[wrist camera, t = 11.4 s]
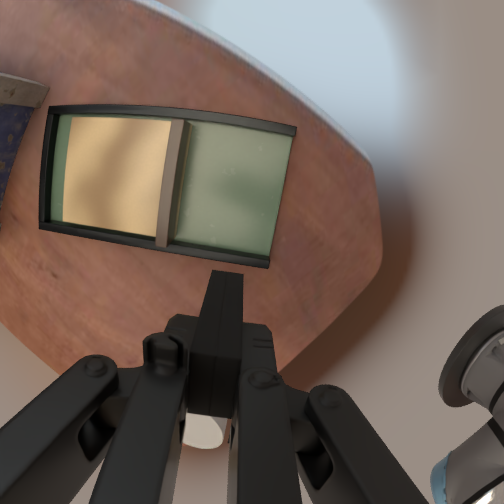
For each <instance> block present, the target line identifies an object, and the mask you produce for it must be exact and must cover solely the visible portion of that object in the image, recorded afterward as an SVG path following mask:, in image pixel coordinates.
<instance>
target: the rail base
mask: <svg viewBox="0 0 504 504" xmlns="http://www.w3.org/2000/svg"><path fill="white" fill-rule="evenodd" d="M72 117H112V118H134V119H150V120H162V121H172V119H173V118H174V119H184V120H186V121H187V122H189V123H191V124H192V125H193V126H192V131H191V137H190V142H189V148H188V154H187V160H186V166H185V173H184V179H183V186H182V193H181V200H180V208H179V216H178V224H177V232H176V237H175V238H174V240H173V241H172V242H171V243H170V244H169V245H168V247H167V248H163V247H157V246H155V239H156V237H154V236H148V235H142V234H136V233H130V232H124V231H118V230H112V229H106V228H100V227H94V226H88V225H82V224H76V223H70V222H64V221H63V197H64V181H65V169H66V159H67V150H68V142H69V135H70V129H71V122H72ZM296 129H297V127H295V126H291V125H286V124H282V123H277V122H272V121H266V120H261V119H255V118H250V117H244V116H238V115H231V114H224V113H217V112H210V111H201V110H193V109H183V108H172V107H159V106H142V105H112V104H88V105H59V106H49V109H48V115H47V120H46V127H45V134H44V141H43V149H42V159H41V170H40V185H39V229H41V230H47V231H52V232H57V233H63V234H68V235H73V236H79V237H84V238H90V239H95V240H101V241H106V242H112V243H117V244H123V245H128V246H134V247H140V248H145V249H151V250H157V251H163V252H168V253H174V254H180V255H186V256H192V257H198V258H204V259H210V260H216V261H222V262H228V263H234V264H240V265H246V266H252V267H258V268H265V269H268V268H269V264H270V258H269V254H270V249H271V244H272V240H273V235H274V230H275V225H276V220H277V215H278V210H279V205H280V200H281V195H282V190H283V185H284V180H285V175H286V170H287V165H288V160H289V154H290V149H291V144H292V139H293V137H294V136H295V135H296Z"/></svg>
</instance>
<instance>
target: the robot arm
mask: <svg viewBox="0 0 504 504" xmlns="http://www.w3.org/2000/svg"><path fill="white" fill-rule="evenodd" d="M143 358H144V364H143V366H140V367H136V368H117V365H116V364H115V362H114V360H112V359H111V358H109V357H107V356H103V355H89V356H85V357H83V358H82V359H80V360H79V361H77V362H76V363H75V364H74V365H73V366H71V367H70V368H69V369H68V370H67V371H66V372H64V373H63V374H62V375H61V376H60V377H59V378H57V379H56V380H55V381H54V382H53V383H52V384H50V386H48V387H47V388H46V389H45V390H43V391H42V392H41V393H40V394H39V395H38V396H37V397H35V398H34V399H33V400H32V401H31V402H30V403H28V404H27V405H26V406H25V407H24V408H23V409H22V410H21V411H19V412H18V413H17V414H16V415H15V416H14V417H13V418H12V419H10V420H9V421H8V422H7V423H6V424H5V425H4V426H3V427H1V428H0V504H69V503H70V502H71V501H72V499H73V498H74V497H75V496H76V494H77V493H78V492H79V490H80V489H81V488H82V487H83V485H84V484H85V483H86V481H87V480H88V478H89V477H90V476H91V475H92V473H93V472H94V471H95V470H96V468H97V467H98V466H99V464H100V463H101V462H102V460H103V459H104V458H105V459H104V462H103V464H102V467H101V470H100V473H99V475H98V478H97V481H96V484H95V486H94V489H93V492H92V495H91V498H90V501H89V504H172V501H173V494H174V489H175V483H176V476H177V471H178V465H179V459H180V454H181V448H182V443H183V437H184V432H185V427H186V413H191V414H197V415H204V416H211V417H219V418H228V419H232V423H231V428H230V434H229V439H228V443H229V464H228V465H229V466H228V487H227V488H228V489H227V504H302V498H301V491H300V484H299V477H298V473H299V475H300V478H301V480H302V482H303V484H304V486H305V488H306V490H307V492H308V494H309V497H310V498H311V501H312V503H313V504H429V503H428V502H427V500H426V499H425V498H424V496H423V495H422V494H421V492H420V491H419V489H418V488H417V487H416V485H415V484H414V483H413V481H412V480H411V479H410V477H409V476H408V475H407V473H406V472H405V471H404V469H403V468H402V467H401V465H400V464H399V462H398V461H397V460H396V458H395V457H394V456H393V454H392V453H391V452H390V450H389V449H388V448H387V446H386V445H385V443H384V442H383V441H382V439H381V438H380V437H379V436H378V434H377V433H376V431H375V430H374V428H373V427H372V426H371V424H370V423H369V422H368V420H367V419H366V418H365V416H364V415H363V413H362V412H361V411H360V409H359V408H358V407H357V405H356V404H355V403H354V401H353V400H352V398H351V397H350V396H349V395H348V394H347V393H346V392H345V391H344V390H343V389H341V388H339V387H337V386H333V385H319V386H316V387H314V388H313V389H312V390H311V391H310V393H308V392H304V391H300V390H297V389H294V388H292V387H290V386H288V385H286V384H285V383H284V381H283V379H282V376H281V375H279V374H278V373H277V367H276V359H275V352H274V345H273V338H272V332H271V331H270V330H269V329H268V327H267V326H266V325H262V324H253V323H245V322H243V274H239V273H232V272H224V271H217V270H212V273H211V277H210V280H209V283H208V287H207V290H206V294H205V297H204V301H203V305H202V308H201V312H200V315H199V317H195V316H188V315H182V314H176V315H175V316H173V317H172V318H171V319H169V321H168V324H167V326H166V328H165V330H164V332H160V333H154V334H151V335H149V336H147V337H146V338H145V339H144V340H143ZM459 387H460V390H461V391H462V393H463V394H464V395H465V396H466V397H467V398H469V399H470V400H472V401H474V402H476V403H478V404H480V405H481V406H483V407H485V408H487V409H488V410H489V412H490V413H491V414H492V415H493V417H492V418H491V419H490V420H489V421H488V422H487V423H486V424H485V425H484V426H482V428H480V429H479V430H478V431H477V432H476V433H474V434H473V435H472V436H471V437H470V438H468V439H467V440H466V441H465V442H464V443H462V444H461V445H460V446H459V447H457V448H456V449H455V450H453V451H451V452H450V453H449V454H448V455H447V456H446V457H445V458H444V459H442V460H441V461H440V462H439V463H437V464H436V465H435V466H434V468H433V470H432V472H431V477H430V483H431V490H432V494H433V498H434V501H435V503H436V504H504V328H502V329H499V330H497V331H496V332H494V333H493V334H491V335H490V336H489V337H488V338H487V339H485V340H484V341H483V342H482V343H481V345H480V346H479V347H478V348H477V349H476V350H475V352H474V353H473V354H472V356H471V357H470V359H469V360H468V362H467V364H466V365H465V367H464V369H463V371H462V374H461V377H460V381H459Z"/></svg>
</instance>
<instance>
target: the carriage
mask: <svg viewBox="0 0 504 504" xmlns="http://www.w3.org/2000/svg"><path fill="white" fill-rule="evenodd" d="M192 126H193V125H192V124H191V123H189V122H187V121H186V120H184V119H174V118H173V119H172V121H162V120H150V119H134V118H112V117H72V122H71V129H70V135H69V142H68V150H67V159H66V169H65V181H64V197H63V221H64V222H70V223H76V224H82V225H88V226H94V227H100V228H106V229H112V230H118V231H124V232H130V233H136V234H142V235H148V236H154V237H156V239H155V246H157V247H163V248H167V247H168V245H169V244H170V243H171V242H172V241H173V240H174V238H175V237H176V232H177V224H178V216H179V208H180V200H181V193H182V186H183V179H184V173H185V166H186V160H187V154H188V148H189V142H190V137H191V131H192Z"/></svg>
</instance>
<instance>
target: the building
mask: <svg viewBox="0 0 504 504" xmlns="http://www.w3.org/2000/svg"><path fill="white" fill-rule="evenodd" d="M48 90H49V87H47V86H45V85H43V84H41V83H39V82H37V81H33V80H29V79H25V78H21V77H17V76H13V75H9V74H5V73H2V72H0V209H1V205H2V201H3V197H4V193H5V189H6V186H7V182H8V179H9V175H10V172H11V169H12V166H13V162H14V159H15V157H16V154H17V151H18V148H19V145H20V142H21V140H22V137H23V135H24V132H25V130H26V127H27V125H28V122H29V120H30V118H31V115H32V113H33V111H34V108H40V107H41V104H42V102H43V100H44V98H45V96H46V94H47V92H48ZM0 229H1V223H0Z"/></svg>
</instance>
